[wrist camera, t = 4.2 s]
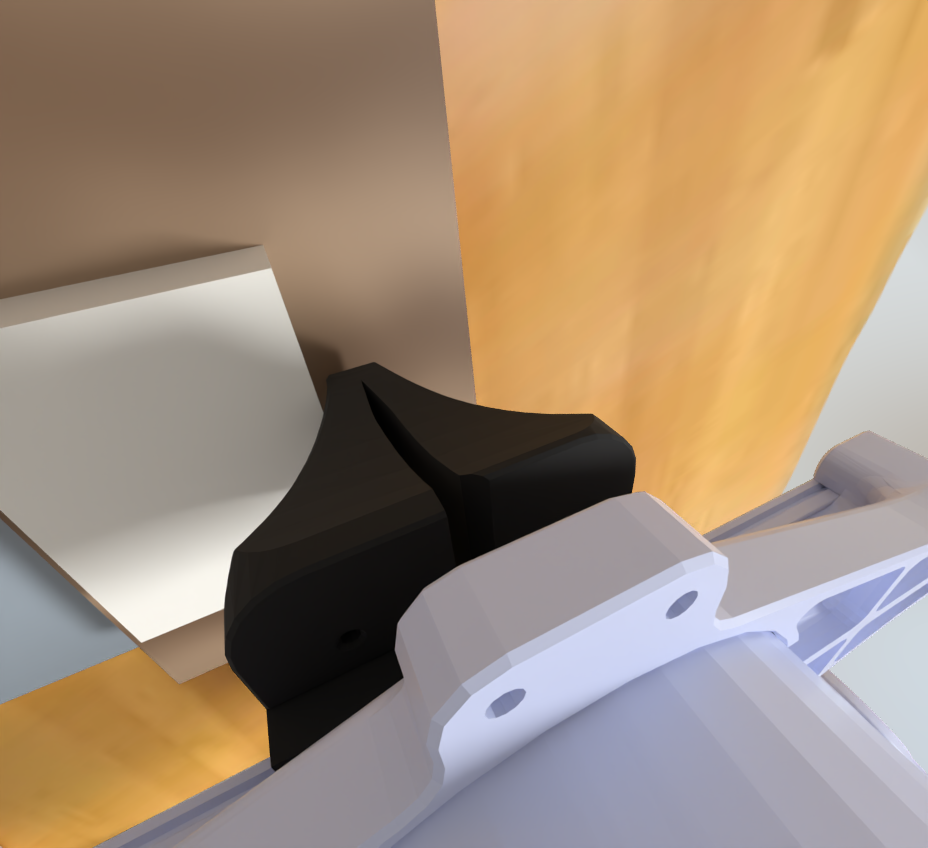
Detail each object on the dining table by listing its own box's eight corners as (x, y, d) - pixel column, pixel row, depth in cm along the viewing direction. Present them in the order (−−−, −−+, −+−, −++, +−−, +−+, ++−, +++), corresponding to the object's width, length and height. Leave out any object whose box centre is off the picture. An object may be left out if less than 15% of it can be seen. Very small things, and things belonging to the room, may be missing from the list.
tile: (355, 502, 14) (371, 547, 13) (150, 581, 13) (141, 642, 11) (263, 244, 10) (271, 268, 8) (-85, 317, 8) (-157, 363, 6)
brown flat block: (457, 492, 21) (490, 545, 19) (185, 601, 18) (179, 684, 15) (372, -48, 10) (424, -106, 8) (-347, -25, 7) (-678, -110, 5)
